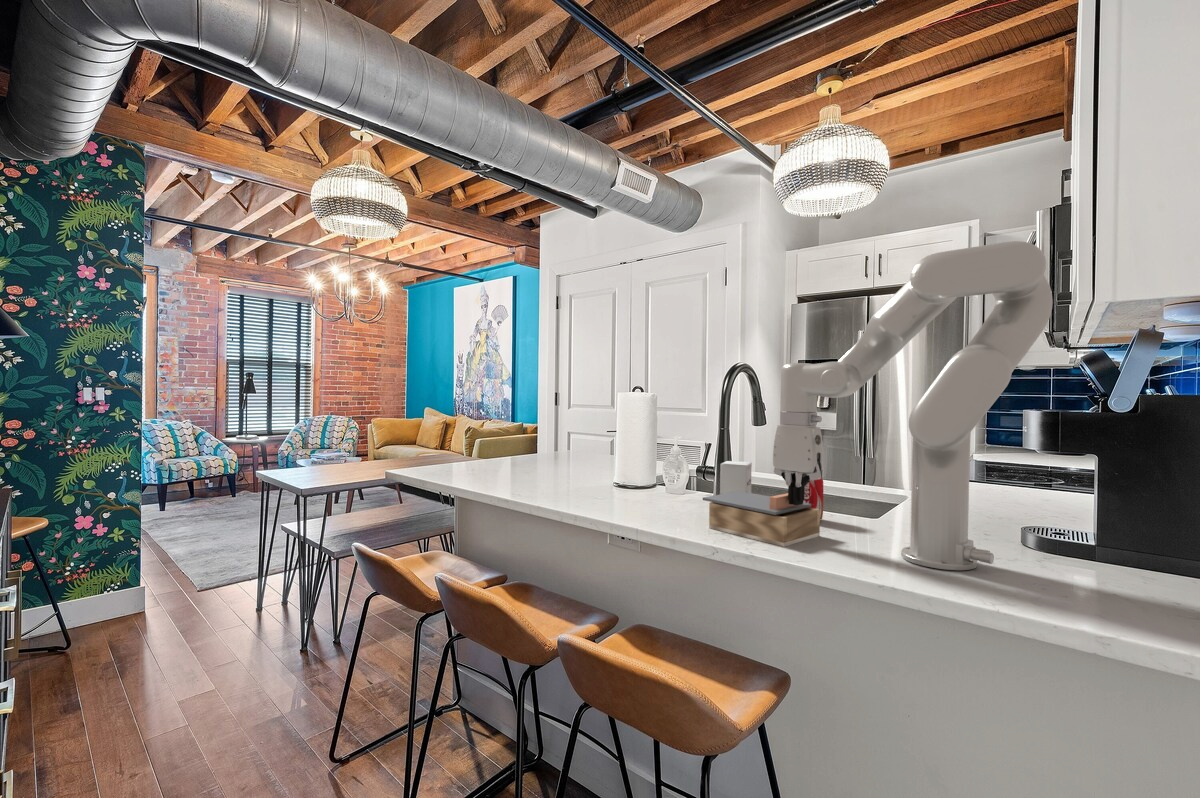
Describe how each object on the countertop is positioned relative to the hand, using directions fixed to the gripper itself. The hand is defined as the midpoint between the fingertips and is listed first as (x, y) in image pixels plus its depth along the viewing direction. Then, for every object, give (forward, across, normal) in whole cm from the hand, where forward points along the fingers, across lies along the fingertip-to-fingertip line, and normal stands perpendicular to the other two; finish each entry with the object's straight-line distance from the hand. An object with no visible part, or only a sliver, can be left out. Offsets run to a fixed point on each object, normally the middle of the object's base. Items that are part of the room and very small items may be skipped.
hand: (796, 503), depth 124 cm
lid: (+2, +11, 0) cm, 11 cm away
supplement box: (+8, +28, -16) cm, 34 cm away
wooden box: (+8, +8, 0) cm, 12 cm away
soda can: (+8, +8, -19) cm, 22 cm away
